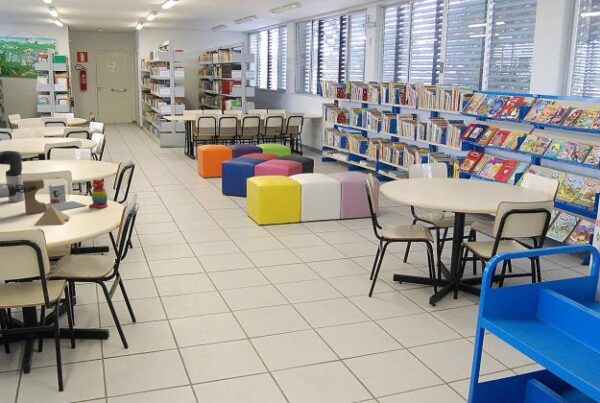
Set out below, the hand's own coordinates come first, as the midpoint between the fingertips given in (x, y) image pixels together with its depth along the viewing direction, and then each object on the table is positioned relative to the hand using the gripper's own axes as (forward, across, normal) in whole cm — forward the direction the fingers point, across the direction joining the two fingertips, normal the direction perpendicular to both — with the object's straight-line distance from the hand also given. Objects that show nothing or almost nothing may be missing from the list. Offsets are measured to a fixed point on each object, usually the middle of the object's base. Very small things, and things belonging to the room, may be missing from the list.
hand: (32, 186), depth 343 cm
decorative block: (0, 0, +16) cm, 16 cm away
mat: (+18, 0, +16) cm, 24 cm away
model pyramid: (-4, -29, +17) cm, 33 cm away
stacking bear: (+33, -17, +16) cm, 41 cm away
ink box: (+22, +15, +16) cm, 31 cm away
